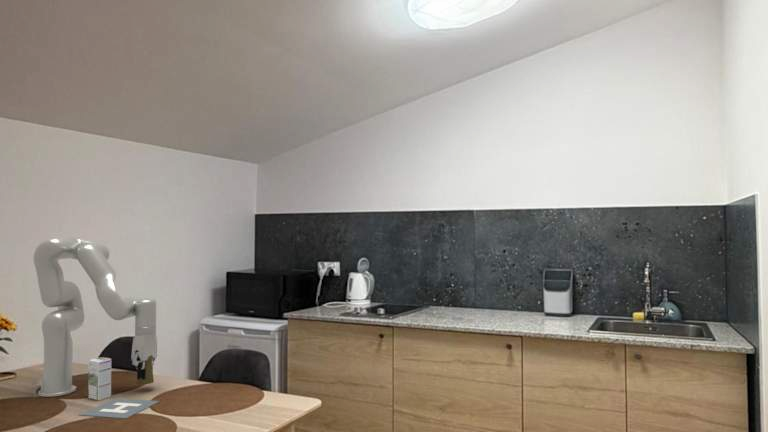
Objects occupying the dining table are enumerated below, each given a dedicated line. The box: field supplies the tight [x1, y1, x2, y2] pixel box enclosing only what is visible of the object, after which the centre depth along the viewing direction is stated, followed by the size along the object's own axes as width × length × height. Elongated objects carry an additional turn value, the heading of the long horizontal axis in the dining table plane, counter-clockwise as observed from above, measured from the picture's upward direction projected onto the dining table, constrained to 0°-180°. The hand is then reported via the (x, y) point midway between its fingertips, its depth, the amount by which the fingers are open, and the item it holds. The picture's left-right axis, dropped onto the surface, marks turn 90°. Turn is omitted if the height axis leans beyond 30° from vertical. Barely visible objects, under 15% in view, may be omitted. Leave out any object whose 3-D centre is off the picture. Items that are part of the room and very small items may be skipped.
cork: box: [136, 355, 155, 386], centre depth 203 cm, size 6×6×11 cm
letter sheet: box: [78, 397, 160, 420], centre depth 182 cm, size 18×18×1 cm
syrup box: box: [87, 356, 112, 401], centre depth 194 cm, size 6×6×14 cm
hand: (144, 377), depth 202 cm, fingers closed on cork, 3 cm apart
